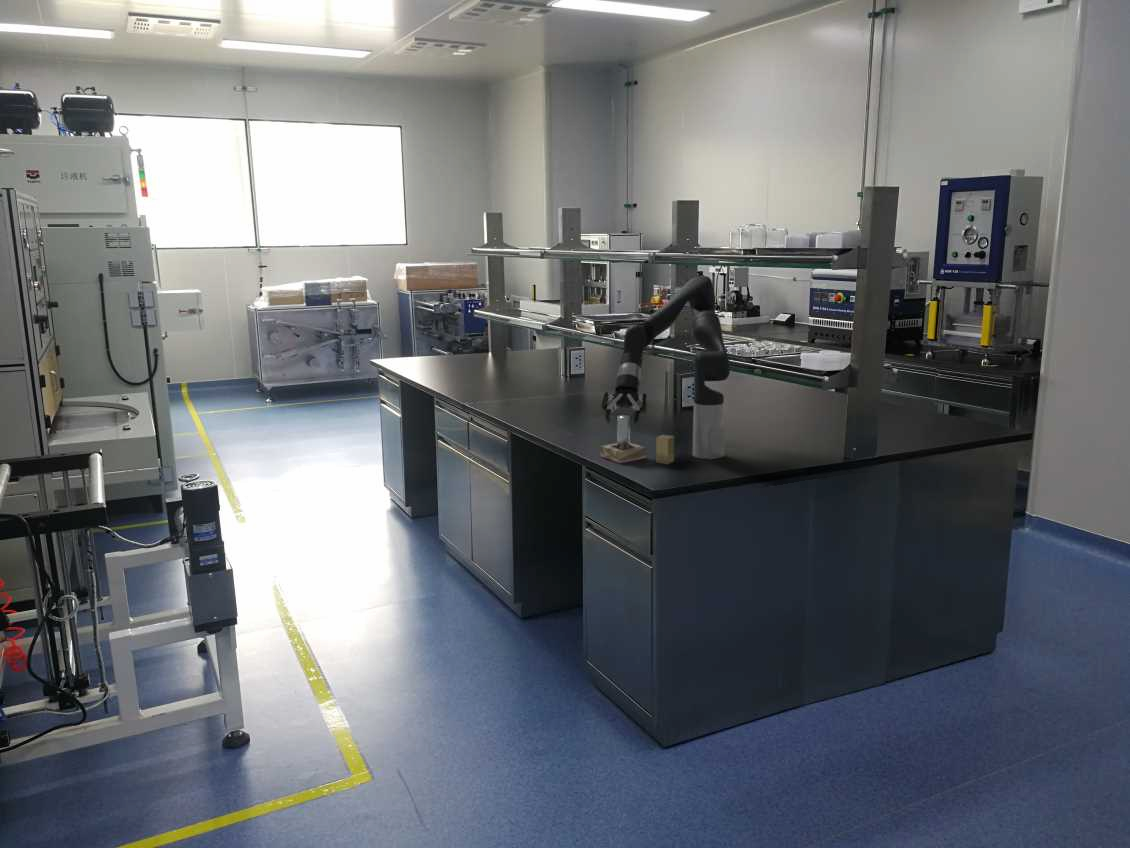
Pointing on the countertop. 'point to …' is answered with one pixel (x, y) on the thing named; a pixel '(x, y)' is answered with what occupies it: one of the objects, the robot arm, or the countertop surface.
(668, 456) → the yellow brown rectangular block
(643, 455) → the socket block
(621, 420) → the cylinder
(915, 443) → the countertop surface
